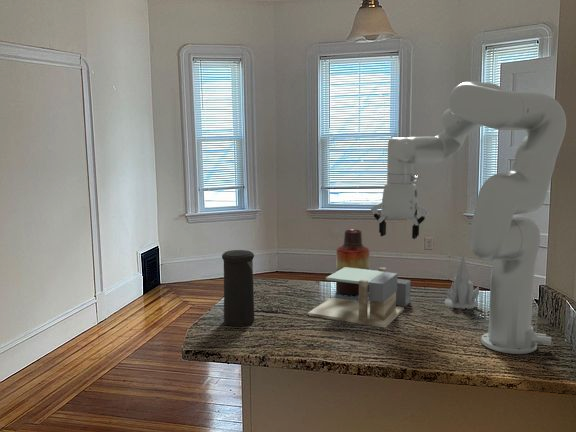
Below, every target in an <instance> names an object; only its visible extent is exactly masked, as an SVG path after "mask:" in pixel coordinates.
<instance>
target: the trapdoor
mask: <svg viewBox="0 0 576 432" xmlns="http://www.w3.org/2000/svg"><path fill="white" fill-rule="evenodd" d="M397 279H398V273H397V272H389V271H387V272H381V271H378V270H373V269H369V270H367V269H358V268H349V267H344V268H342V269H340V270H339V271H337V272H336V271H335V272H334V273H331V274H330V275H328V276H326V277H325V280H326V281H332V282H336V281H339V282H347V283H356V284H359V281H360V280H368V285H369V293H368V301H370V300H371V301H379V302H384V301H385V300H386V299H387V298H388V297H390V296H391V295H392V294H393V293H394V292H396V291H397Z"/></svg>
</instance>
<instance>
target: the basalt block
mask: <svg viewBox="0 0 576 432" xmlns="http://www.w3.org/2000/svg"><path fill="white" fill-rule="evenodd" d="M411 281H412V280H410V279H401V278H397V291H396V305H398V306H397V307H403V306H406V307H407V306H408V305H409V304H410V303H411V284H412V283H411Z"/></svg>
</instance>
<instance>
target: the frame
mask: <svg viewBox="0 0 576 432" xmlns="http://www.w3.org/2000/svg"><path fill="white" fill-rule="evenodd" d="M387 269H388V268H387V267H378V270H377V271H381V272H388V271H387ZM368 301H369V302H368ZM404 310H405V308H404V307H403V306H396V292H394V293H393V294H392V295H391V296H390V297H388V298H387V299H386V300H385V301H384V302H379V301H371V300H369V293H368V280H360V281H359V296H358V300H352V299H346V298H339V297H330V298H328V299H327V300H325V301H323V302H322V303H321V304H319V305H317V306H315V307H314V308H313V309H311V310H310V311H308V312H307V316H308V315H309V316H310V317H315V318H322V319H328V320H334V321H341V322H348V323H352V324H358V325H364V326H366V325H367V326H372V327H379V328H387V327H388V326H389V325H390V324H391V323H392V322H393V321H395V319H396V318H397V317H398V316H400V314H401V313H403V311H404Z"/></svg>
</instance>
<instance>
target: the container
mask: <svg viewBox="0 0 576 432" xmlns="http://www.w3.org/2000/svg"><path fill="white" fill-rule="evenodd" d="M221 257H222V260H223V323H224V325H227V326H231V327H244V326H248V325H252V324H253V323H254V322H255V300H254V299H255V296H254V266H253V265H254V264H253V263H254V262H253V260H254V258H255V254H254V253H253V252H252V251H250V250H245V249H232V250H227V251H225V252H223V253H222V255H221Z"/></svg>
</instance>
